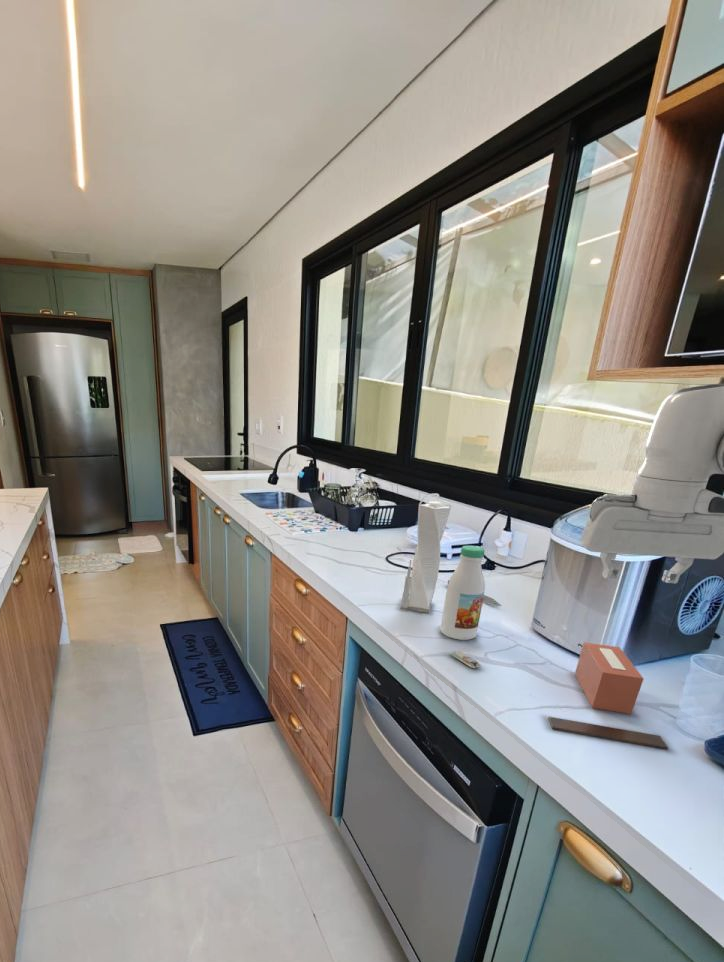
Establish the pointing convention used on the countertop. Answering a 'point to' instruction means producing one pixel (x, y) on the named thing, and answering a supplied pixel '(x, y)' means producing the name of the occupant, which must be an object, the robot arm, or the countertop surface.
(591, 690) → the tissue box
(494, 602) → the kitchen knife
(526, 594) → the countertop surface
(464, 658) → the granola bar
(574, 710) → the countertop surface
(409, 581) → the skyscraper
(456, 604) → the milk bottle
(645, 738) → the walnut ruler
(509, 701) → the countertop surface
